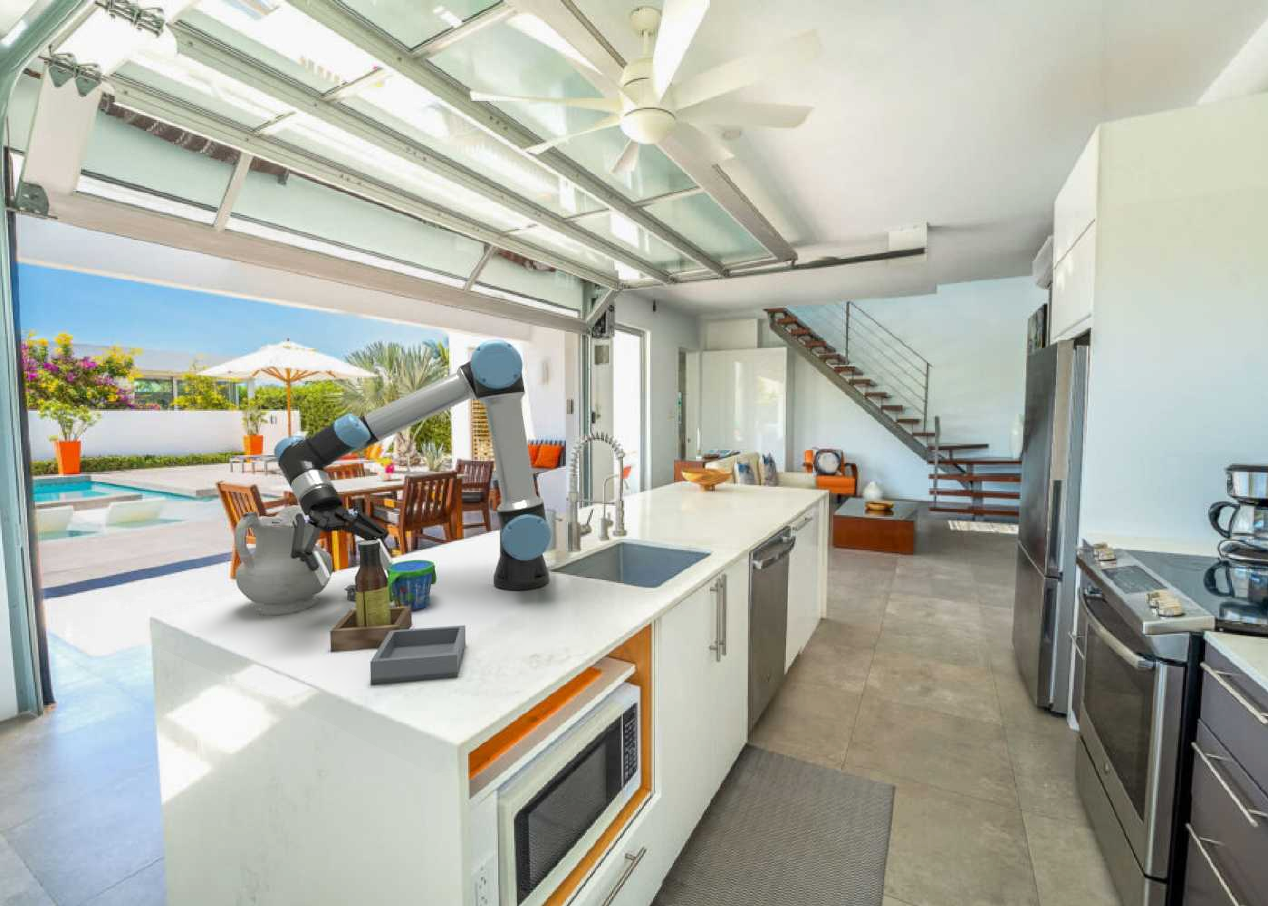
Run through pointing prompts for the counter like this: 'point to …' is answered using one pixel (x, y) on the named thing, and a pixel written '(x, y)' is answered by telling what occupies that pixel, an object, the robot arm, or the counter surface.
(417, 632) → the tray
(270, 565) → the ceramic pitcher
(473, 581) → the counter surface
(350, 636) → the square brown frame
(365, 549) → the sauce bottle
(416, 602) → the snack cup
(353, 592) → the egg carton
